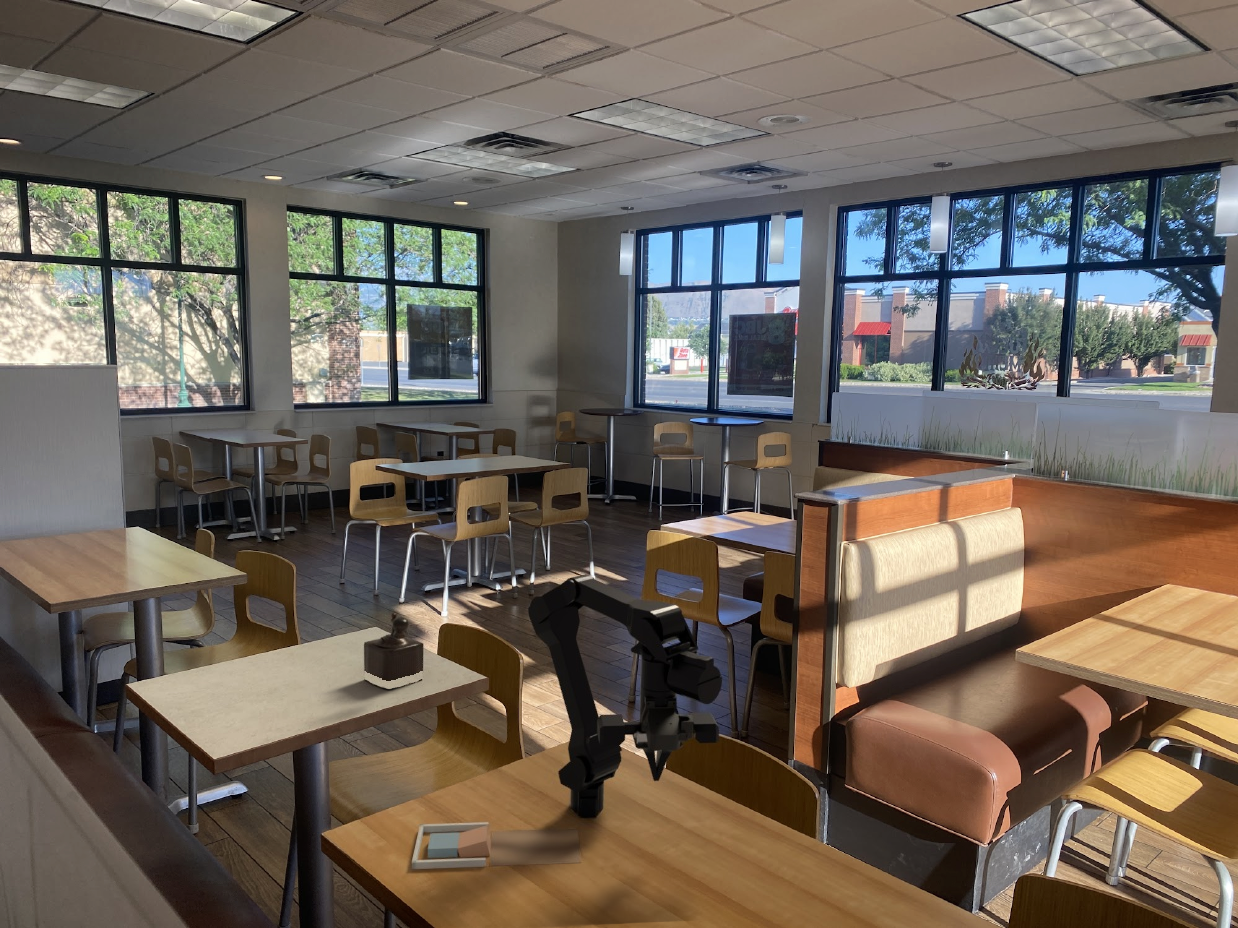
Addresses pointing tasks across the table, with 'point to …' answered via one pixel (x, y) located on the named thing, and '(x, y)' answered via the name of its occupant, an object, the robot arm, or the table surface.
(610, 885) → the table surface
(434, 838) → the slate tile
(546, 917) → the table surface
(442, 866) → the tray
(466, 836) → the terracotta tile
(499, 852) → the board
